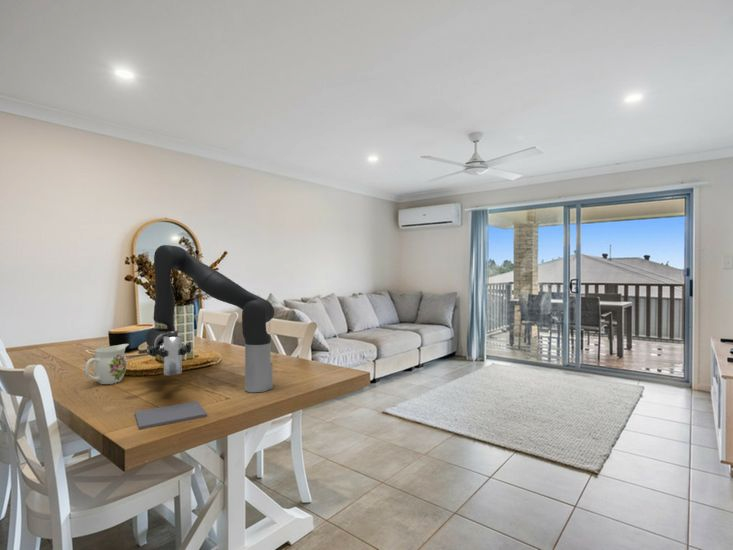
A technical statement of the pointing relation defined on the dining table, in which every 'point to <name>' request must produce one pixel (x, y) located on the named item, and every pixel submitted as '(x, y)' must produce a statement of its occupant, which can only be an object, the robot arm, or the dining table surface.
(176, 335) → the pepper mill
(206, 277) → the robot arm
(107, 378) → the pitcher
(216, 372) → the dining table surface
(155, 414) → the placemat
